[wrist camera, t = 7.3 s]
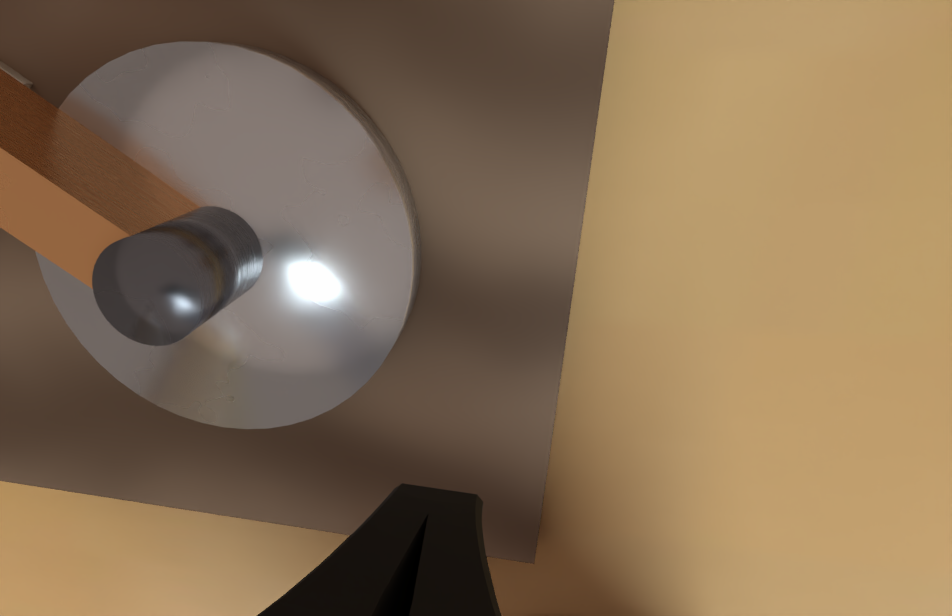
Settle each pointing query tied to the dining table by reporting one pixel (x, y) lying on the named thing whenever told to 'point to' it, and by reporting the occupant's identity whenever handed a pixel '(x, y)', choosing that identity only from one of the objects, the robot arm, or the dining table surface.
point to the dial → (215, 228)
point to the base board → (440, 283)
